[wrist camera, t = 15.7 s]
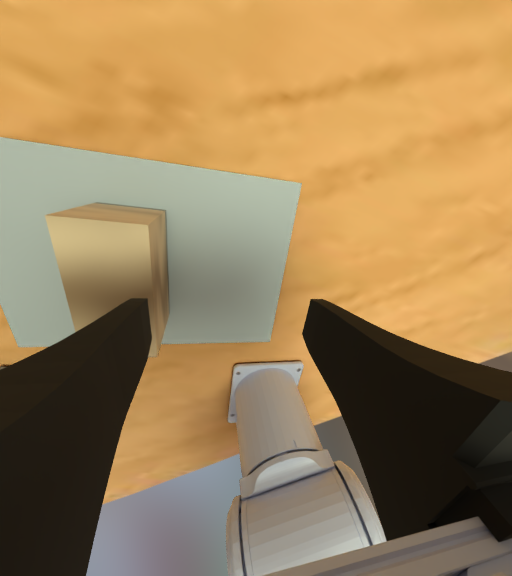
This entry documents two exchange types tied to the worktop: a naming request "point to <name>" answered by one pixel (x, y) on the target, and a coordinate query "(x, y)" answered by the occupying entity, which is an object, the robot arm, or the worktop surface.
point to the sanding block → (112, 261)
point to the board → (180, 239)
